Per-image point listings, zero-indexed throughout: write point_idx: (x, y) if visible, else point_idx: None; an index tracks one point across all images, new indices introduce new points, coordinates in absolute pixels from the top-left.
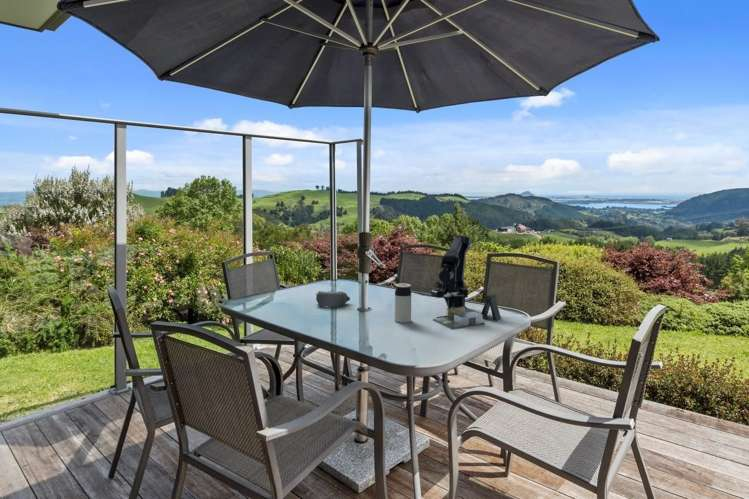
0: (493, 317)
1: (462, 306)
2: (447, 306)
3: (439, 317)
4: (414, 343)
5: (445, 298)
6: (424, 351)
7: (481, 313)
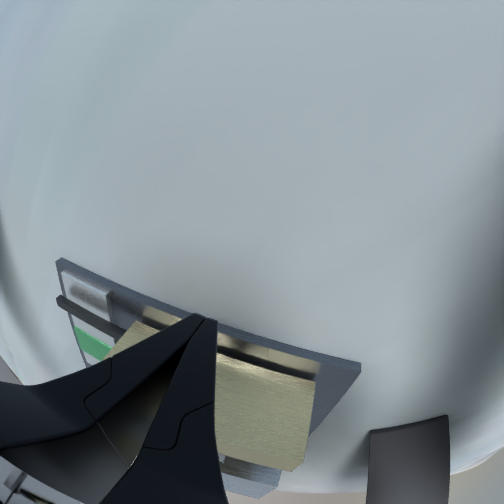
0: (368, 476)
1: (292, 461)
2: (170, 326)
3: (74, 311)
4: (9, 343)
5: (46, 409)
6: (25, 373)
7: (369, 465)
